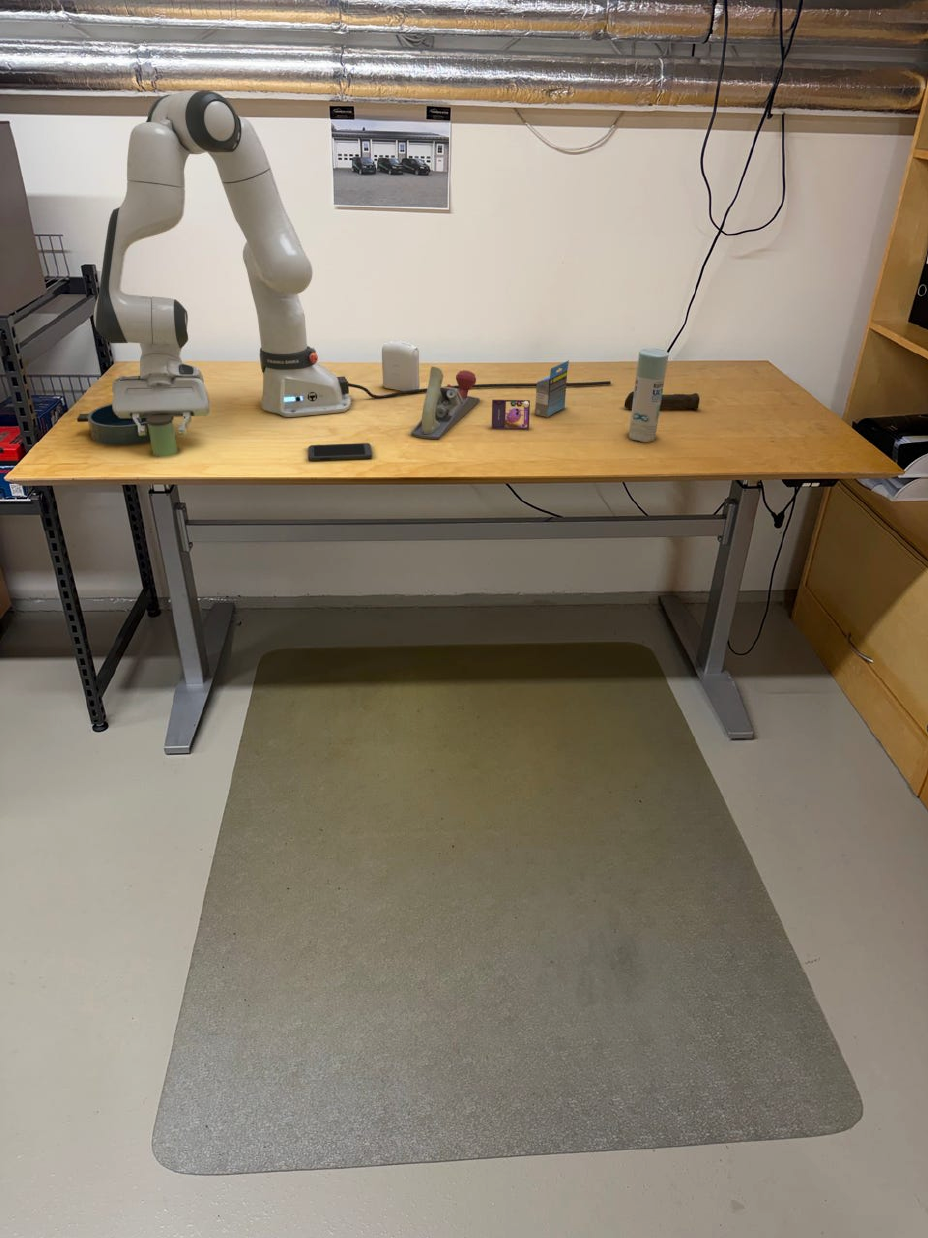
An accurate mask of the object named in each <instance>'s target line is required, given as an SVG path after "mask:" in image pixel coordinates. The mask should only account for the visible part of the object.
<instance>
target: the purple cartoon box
mask: <svg viewBox="0 0 928 1238" xmlns="http://www.w3.org/2000/svg"><path fill="white" fill-rule="evenodd" d="M509 402H510V403H509ZM507 403H509V404H510V406H511V407H513V408H511V409H508V411H509V412H507ZM516 406H517V407H516ZM518 407H519V408H518ZM520 407H523V409H521V408H520ZM530 410H531V401H530V400H529V399H492V400H491V429H492V430H494V429H495V430H498V429H499V430H529V429H530V413H531V411H530ZM522 412H523V414H522ZM522 417H523V423H522V424H521V426H520V427H519V426H518V427H517V426H516V427H515V426H506V423H509V424H514V423H517V422H519V421H520V420H521V419H522Z"/></svg>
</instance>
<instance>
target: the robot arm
mask: <svg viewBox="0 0 928 1238" xmlns="http://www.w3.org/2000/svg"><path fill="white" fill-rule="evenodd" d="M127 149H128V150H127V157H126V158H127V159H126V160H127V161H126V193H125V196H124V199H123V202H122V203H121V205H120V206H119V207H117V208H114V209H113V210H112V212H111V214H110V217H109V221H108V225H107V232H106V237H105V238H106V239H105V244H104V252H103V260H102V267H101V275H100V283H99V289H98V295H97V298H96V301H95V305H94V309H93V323H94V327H95V331H96V332H97V333H98V334H99V335H100V336H101V337H102V338H103V339H104V340H106V341H107V342H108V343H110V344H129V343H131V344H139V346H140V349H141V355H140V359H139V371H140V372H139V374H140V375H130V376H125V375H120V376H119V377H117V378H116V379H114V380H113V381H112V384H111V386H112V389H111V390H112V394H113V396H112V403H111V404H112V408H113V411H114V413H115V414H116V415H117V416H118V417H119V418H133V420H134V422H135V423H136V425H137V426H138V434H139V436H147V433H146V432H147V428H146V427H145V425H140V423H139V422H141V418H147V417H148V416H151V415H154V414H169V415H171V416H172V417H174V418H183V421H182V423H181V424H177V432H178V435H179V436H182V435H183V436H184V435H185V436H186V435H187V428H189V425H190V424H191V422H192V417H207V416H208V415H209V414H210V413H211V403H210V397H209V392H208V391H207V388H206V385H205V381H204V380H205V379H204V376H203V374H202V372H201V370H200V368H199V367H197V366H195V365H191V364H187V363H184V362H183V360H182V357H181V352H182V349H183V347H184V346H185V345H186V344H187V343H188V341H189V335H188V321H189V317H188V315H189V314H188V311H187V309H186V308H185V307H184V306H183V305H182V304H181V303H180V301H179V300H177V299H174V298H171V297H164V296H163V297H162V296H152V295H151V296H147V295H138V294H137V295H136V294H128V293H125V292H123V291H122V281H123V273H124V266H125V259H126V253H127V251H128V249H129V248H130V247H131V246H132V245H133V244H135V243H136V242H138V241H141V240H144V239H147V238H151V237H155V236H159V235H161V234H164V233H167V232H169V231H171V230H172V229H174V228H176V227H177V226H178V224H179V223H180V222H181V221H182V219H183V217H184V213H185V205H186V177H185V166H186V164H187V163H186V162H187V159H188V157H189V156H190V155H202V154H206V153H207V154H208V155H209V156H210V157H211V158H212V160H213V162H214V164H215V166H216V169H217V172H218V176H219V178H220V181H221V184H222V186H223V190H224V192H225V195H226V198H227V201H228V203H229V206H230V209H231V212H232V214H233V215H232V216H233V218H234V220H235V222H236V223H237V225H238V226H239V228H240V230H241V232H242V234H243V236H244V238H245V240H246V242H245V244H244V246H243V249H242V261H243V263H244V266H245V269H246V272H247V277H248V282H249V286H250V291H251V295H252V299H253V302H254V306H255V310H256V311H255V312H256V316H257V323H258V330H259V331H258V332H259V340H260V341H259V342H260V348H259V363H260V369H261V372H262V393H261V400H260V407H261V408H262V410H264V411H266V412H268V413H269V412H270V413H273V414H277V415H280V416H281V417H284V418H295V417H305V416H315V415H317V416H319V415H326V414H327V415H328V414H338V413H345V412H347V411H348V410H350V408H351V406H352V400H351V399H352V398H351V396H350V395H349V394H350V389H349V388H355V389H359V390H362V391H364V392H365V393H366V394H367V395H368V396H369V397H370V398H373V399H376V400H377V399H378V400H381V399H388V398H393V397H397V396H403V395H411V394H419V393H427V389H428V387H427V388H426V387H425V388H419V389H417V390H410V391H396V392H392V393H388V394H384V395H379V394H378V395H377V394H373V393H372V392H371V391H370V390H369V389H368V388H367V387H365V386H363V385H361V384H360V385H359V384H356V383H350V382H349V381H348V379H347V378H346V376H337V375H336V374H335V373H333V372H332V371H331V370H329V369H328V368H326V367H325V366H324V365H322V364H320V363H319V362H318V361H319V355H318V354H317V350H316V348H315V347H314V346H313V347H311V346H309V345H308V338H307V327H306V325H307V324H306V314H305V311H304V309H303V306H302V304H301V301H300V296H299V294H301V293H303V292H304V291H305V290H307V289H308V287H309V286H310V284H311V282H312V279H313V265H312V263H311V261H310V259H309V257H308V256H307V254H306V252H305V250H304V248H303V246H302V243H301V241H300V239H299V236H298V234H297V232H296V230H295V228H294V225H293V223H292V221H291V219H290V217H289V215H288V213H287V211H286V209H285V206H284V204H283V201H282V198H281V195H280V192H279V189H278V186H277V183H276V180H275V177H274V173H273V170H272V167H271V165H270V162H269V158H268V156H267V154H266V151H265V148H264V146H263V144H262V142H261V140H260V138H259V136H258V133H257V132H256V130H255V128H254V126H253V124H252V123H251V122H250V120H248V119H247V118H245V117H243V116H241V115H237V113H236V110H235V109H234V107H233V106H232V104H231V103H230V101H229V100H227V99H226V98H225V97H224V96H223V95H221V94H220V93H217V92H214V91H212V90H206V89H202V90H182V91H180V92H176V93H173V94H165V95H162V96H161V97H159V98H157V99H156V100H155V101H154V102H153V103H152V105H151V107H150V109H149V111H148V114H147V118H146V120H145V122H142V123H141V122H140V123H139V124H137V125H135V126H134V127H133V128H132V130H131V132H130V135H129V141H128V148H127ZM611 384H612V383H611V380H605V381H604V380H603V381H590V382H589V381H588V382H586V381H585V382H566V387H586V386H602V385H611ZM451 386H452V387H454V388H456V389H459V390H460V388H459V386H458V384H457V385H451ZM444 387H447V385H446V386H444ZM510 387H512V388H513V387H515V388H516V387H519V388H520V387H529V388H531V387H537V382H532V383H531V382H530V383H529V382H527V383H523V382H522V383H519V382H517V383H516V382H515V383H513V382H512V383H478V384H477V383H475V384H474V385H473V386H472V387H471V388H470V389H473V388H474V389H475V388H510Z"/></svg>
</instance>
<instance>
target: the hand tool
mask: <svg viewBox="0 0 928 1238" xmlns="http://www.w3.org/2000/svg"><path fill="white" fill-rule="evenodd" d="M633 397H634V390H633V391H631V392H630V393H628V395H627V397H626V398H625V400H624V406H623V407H624V408H625V409H629V410H632V405H633ZM699 405H700V395H699V393H697V392H694V393H690V394H686V393H673V394H662V398H661V405H660V409H693V410H695V411H697V410H698V409H699Z"/></svg>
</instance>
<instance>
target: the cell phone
mask: <svg viewBox="0 0 928 1238" xmlns="http://www.w3.org/2000/svg"><path fill="white" fill-rule="evenodd" d="M307 449H308V451H307V452H308V460H309V461H311V462H318V461H319V462H320V461H339V460H342V461H343V460H364V459H365V460H367V459H372V458H373V450H372V445H371V443H369V442H355V443H354V442H353V443H336V444H335V443H331V444H329V443H327V444H311V445H309V446H308V448H307Z"/></svg>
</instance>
